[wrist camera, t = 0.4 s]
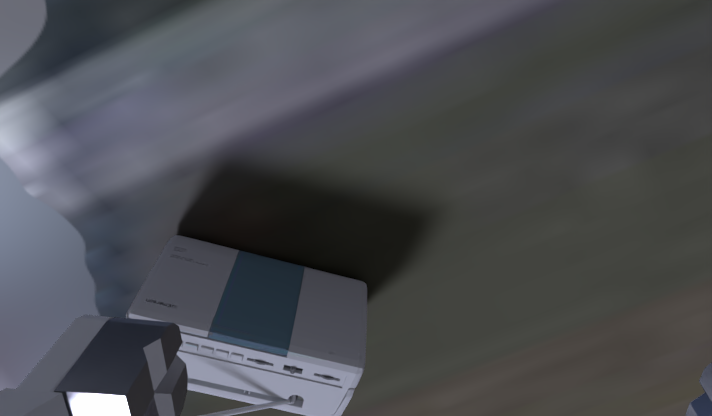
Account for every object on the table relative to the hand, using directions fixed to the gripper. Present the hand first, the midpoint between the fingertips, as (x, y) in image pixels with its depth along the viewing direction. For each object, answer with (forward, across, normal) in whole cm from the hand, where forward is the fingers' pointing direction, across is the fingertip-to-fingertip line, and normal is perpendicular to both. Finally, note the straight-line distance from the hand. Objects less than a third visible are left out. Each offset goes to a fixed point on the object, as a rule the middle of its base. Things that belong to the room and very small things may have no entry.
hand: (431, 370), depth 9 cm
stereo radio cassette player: (+42, +14, +28) cm, 52 cm away
